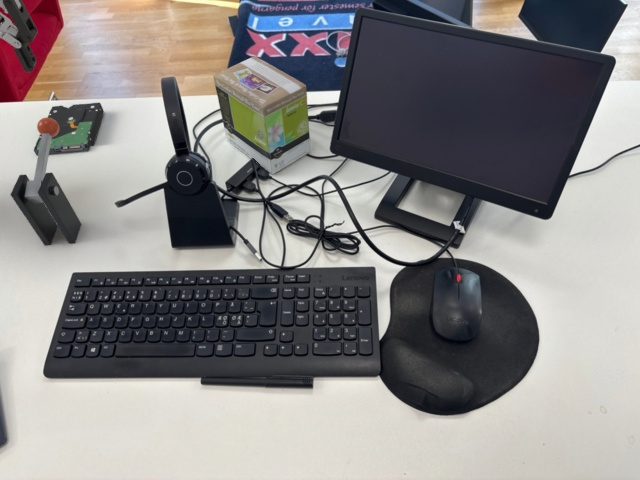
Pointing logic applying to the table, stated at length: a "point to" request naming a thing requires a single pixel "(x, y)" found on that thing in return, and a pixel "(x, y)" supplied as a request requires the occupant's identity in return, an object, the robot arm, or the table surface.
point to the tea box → (264, 113)
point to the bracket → (41, 215)
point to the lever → (41, 158)
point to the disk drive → (74, 128)
